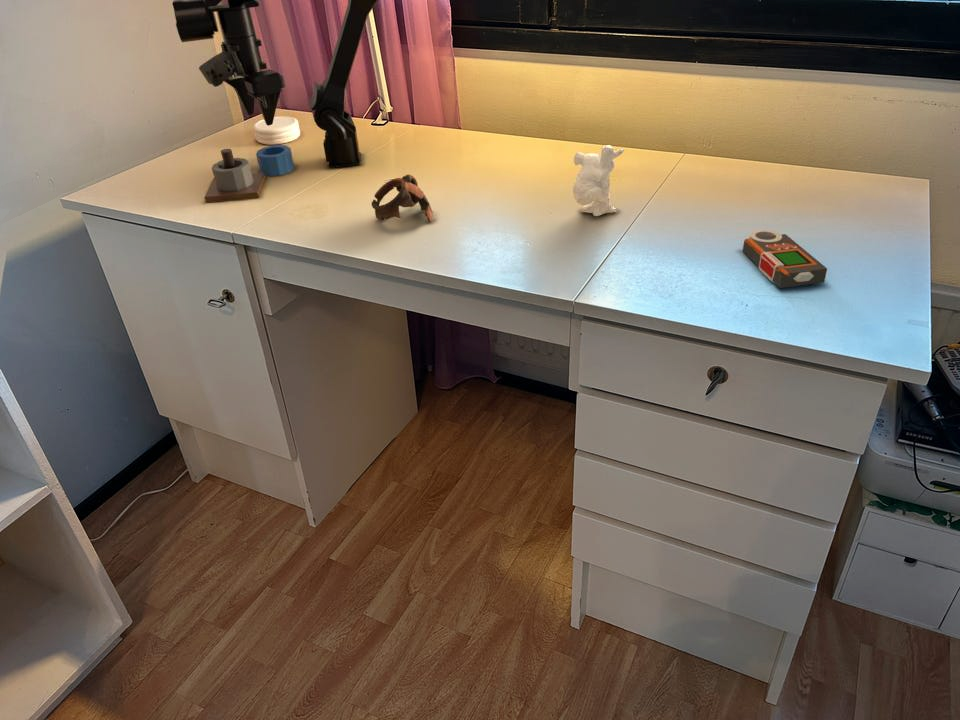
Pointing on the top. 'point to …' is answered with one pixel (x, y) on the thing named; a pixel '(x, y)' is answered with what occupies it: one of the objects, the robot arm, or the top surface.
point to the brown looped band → (401, 198)
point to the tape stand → (246, 193)
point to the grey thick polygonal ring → (233, 175)
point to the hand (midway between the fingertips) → (260, 119)
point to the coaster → (277, 130)
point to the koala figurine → (595, 180)
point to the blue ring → (275, 160)
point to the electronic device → (783, 259)
